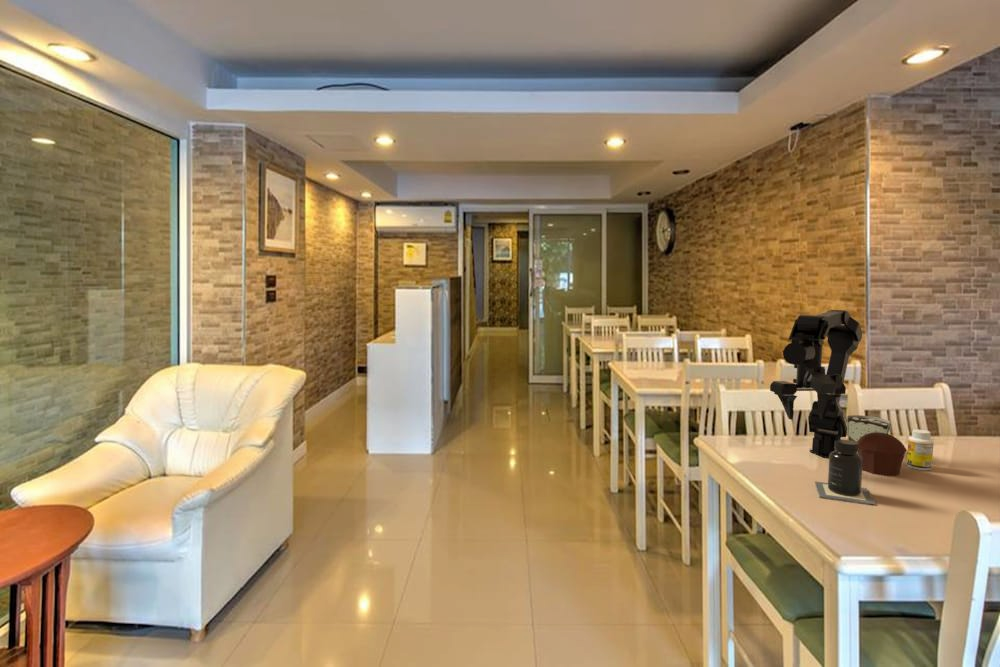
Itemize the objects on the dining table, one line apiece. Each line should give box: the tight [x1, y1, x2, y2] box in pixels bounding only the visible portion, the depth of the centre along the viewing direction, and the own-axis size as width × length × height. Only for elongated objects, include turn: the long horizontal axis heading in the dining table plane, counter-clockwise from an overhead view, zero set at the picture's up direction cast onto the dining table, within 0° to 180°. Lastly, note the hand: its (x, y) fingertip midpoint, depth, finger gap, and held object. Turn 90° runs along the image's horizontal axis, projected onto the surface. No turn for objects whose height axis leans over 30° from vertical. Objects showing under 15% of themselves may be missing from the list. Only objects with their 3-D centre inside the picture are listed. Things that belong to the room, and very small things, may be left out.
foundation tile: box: [814, 481, 876, 506], centre depth 137 cm, size 11×11×1 cm
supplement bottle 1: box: [827, 439, 863, 496], centre depth 137 cm, size 7×7×12 cm
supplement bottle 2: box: [906, 428, 935, 471], centre depth 157 cm, size 6×6×10 cm
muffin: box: [857, 432, 908, 477], centre depth 154 cm, size 12×11×10 cm
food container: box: [844, 414, 893, 442], centre depth 173 cm, size 12×6×10 cm, turn 34°
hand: (805, 418), depth 157 cm, fingers open, 9 cm apart
